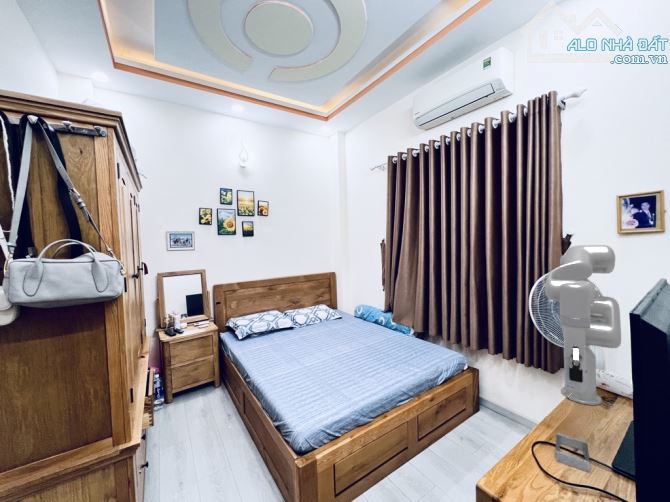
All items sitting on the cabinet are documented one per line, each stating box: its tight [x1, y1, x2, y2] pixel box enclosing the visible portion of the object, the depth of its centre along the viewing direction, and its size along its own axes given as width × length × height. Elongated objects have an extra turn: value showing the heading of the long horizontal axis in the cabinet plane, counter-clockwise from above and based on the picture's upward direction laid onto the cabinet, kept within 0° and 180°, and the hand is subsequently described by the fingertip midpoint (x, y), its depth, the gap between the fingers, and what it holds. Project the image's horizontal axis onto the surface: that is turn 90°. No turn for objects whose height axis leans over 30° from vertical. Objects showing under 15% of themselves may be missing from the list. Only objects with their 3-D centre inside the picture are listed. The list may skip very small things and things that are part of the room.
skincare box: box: [563, 351, 587, 393], centre depth 92 cm, size 6×4×12 cm
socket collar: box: [555, 432, 591, 473], centre depth 85 cm, size 11×7×2 cm
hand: (575, 376), depth 92 cm, fingers closed on skincare box, 6 cm apart
